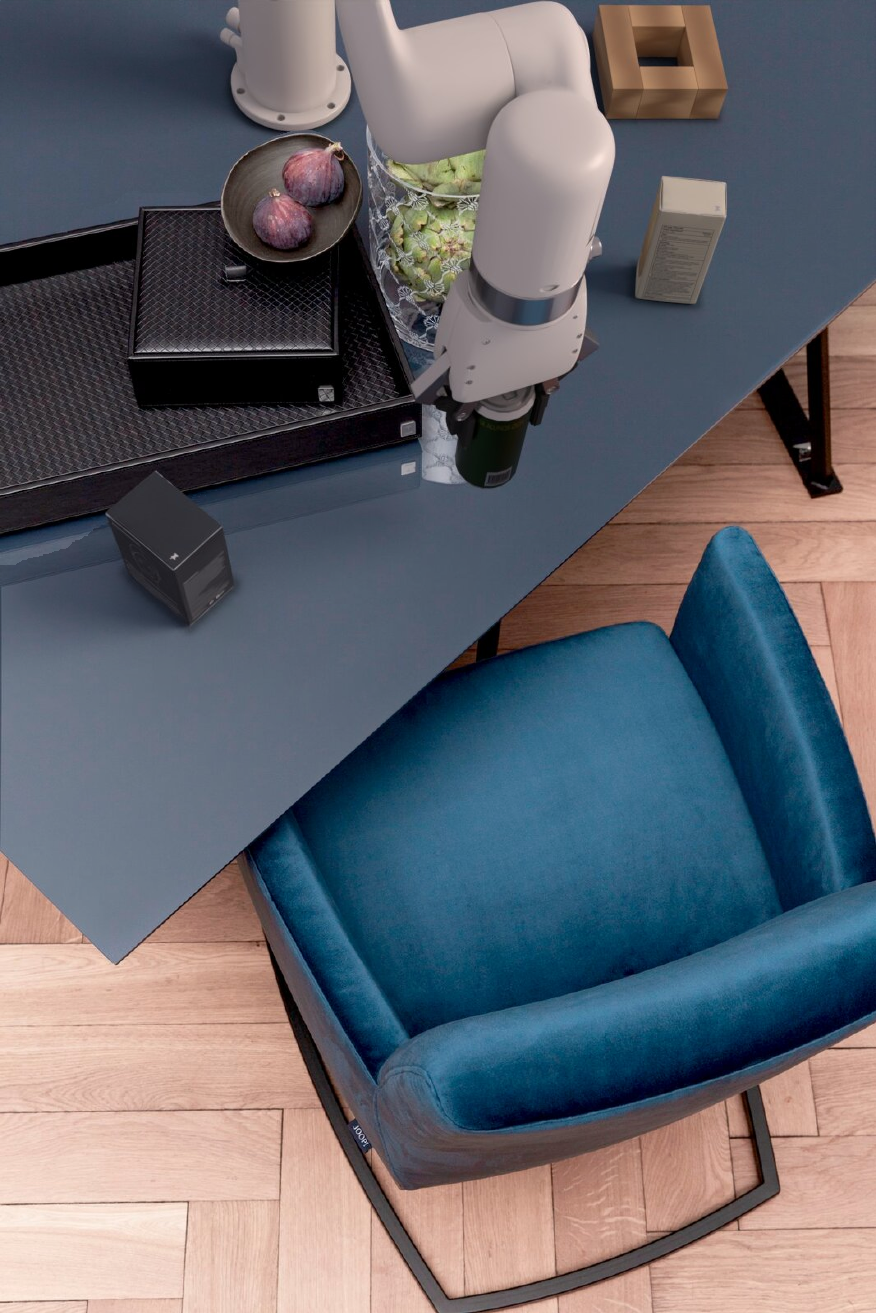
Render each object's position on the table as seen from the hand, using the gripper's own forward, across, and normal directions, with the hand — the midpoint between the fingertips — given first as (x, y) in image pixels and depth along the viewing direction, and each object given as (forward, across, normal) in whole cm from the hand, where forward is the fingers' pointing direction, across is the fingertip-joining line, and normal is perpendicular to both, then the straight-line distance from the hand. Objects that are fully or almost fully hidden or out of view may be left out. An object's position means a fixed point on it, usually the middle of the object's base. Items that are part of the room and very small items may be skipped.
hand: (494, 420), depth 96 cm
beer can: (+7, 0, 0) cm, 7 cm away
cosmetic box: (+15, -28, -17) cm, 36 cm away
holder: (+15, -39, -44) cm, 60 cm away
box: (+15, +27, -2) cm, 31 cm away
